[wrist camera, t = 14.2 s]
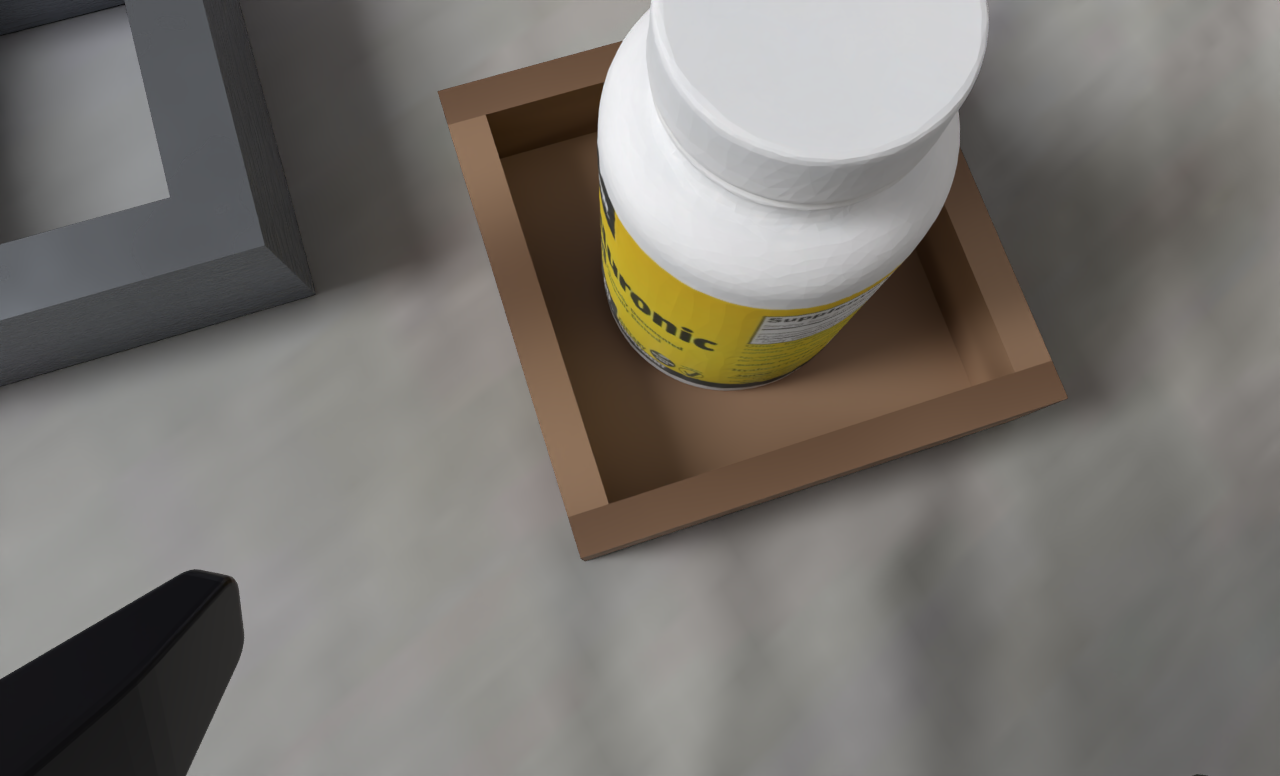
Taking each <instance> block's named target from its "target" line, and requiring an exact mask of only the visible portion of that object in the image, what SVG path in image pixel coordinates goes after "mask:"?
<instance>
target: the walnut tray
mask: <svg viewBox="0 0 1280 776" xmlns="http://www.w3.org/2000/svg"><path fill="white" fill-rule="evenodd" d="M622 42H623V41H620V42H617V43H613V44H609V45H606V46H602V47H598V48H595V49H591V50H587V51H584V52H580V53H576V54H573V55H569V56H565V57H562V58H558V59H554V60H551V61H547V62H543V63H540V64H536V65H532V66H529V67H525V68H521V69H518V70H514V71H510V72H507V73H503V74H499V75H496V76H492V77H488V78H485V79H481V80H477V81H474V82H470V83H466V84H463V85H459V86H455V87H452V88H448V89H444V90H441V91H438V94H439V97H440V101H441V104H442V107H443V110H444V114H445V117H446V120H447V124H448V127H449V130H450V133H451V137H452V140H453V143H454V146H455V150H456V153H457V156H458V159H459V163H460V166H461V169H462V172H463V176H464V179H465V182H466V186H467V189H468V192H469V195H470V199H471V202H472V205H473V208H474V212H475V215H476V218H477V221H478V225H479V228H480V231H481V234H482V238H483V241H484V244H485V247H486V251H487V254H488V257H489V261H490V264H491V267H492V270H493V274H494V277H495V280H496V283H497V287H498V290H499V293H500V296H501V300H502V303H503V306H504V309H505V313H506V316H507V319H508V323H509V326H510V329H511V332H512V336H513V339H514V342H515V345H516V349H517V352H518V355H519V358H520V362H521V365H522V368H523V371H524V375H525V378H526V381H527V385H528V388H529V391H530V394H531V398H532V401H533V404H534V407H535V411H536V414H537V417H538V420H539V424H540V427H541V430H542V433H543V437H544V440H545V443H546V446H547V450H548V453H549V456H550V460H551V463H552V466H553V469H554V473H555V476H556V479H557V482H558V486H559V489H560V492H561V495H562V499H563V502H564V505H565V508H566V512H567V515H568V518H569V522H570V525H571V528H572V531H573V535H574V538H575V541H576V544H577V548H578V551H579V554H580V557H581V559H582V560H584V561H587V560H590V559H593V558H596V557H599V556H602V555H605V554H608V553H611V552H614V551H617V550H620V549H623V548H627V547H630V546H633V545H636V544H639V543H642V542H645V541H648V540H651V539H654V538H657V537H660V536H663V535H666V534H669V533H672V532H675V531H678V530H681V529H684V528H687V527H690V526H693V525H696V524H699V523H702V522H705V521H708V520H712V519H715V518H718V517H721V516H724V515H727V514H730V513H733V512H736V511H739V510H742V509H745V508H748V507H751V506H754V505H757V504H760V503H763V502H766V501H769V500H772V499H775V498H778V497H781V496H784V495H787V494H790V493H794V492H797V491H800V490H803V489H806V488H809V487H812V486H815V485H818V484H821V483H824V482H827V481H830V480H833V479H836V478H839V477H842V476H845V475H848V474H851V473H854V472H857V471H860V470H863V469H866V468H869V467H872V466H876V465H879V464H882V463H885V462H888V461H891V460H894V459H897V458H900V457H903V456H906V455H909V454H912V453H915V452H918V451H921V450H924V449H927V448H930V447H933V446H936V445H939V444H942V443H945V442H948V441H951V440H954V439H957V438H961V437H964V436H967V435H970V434H973V433H976V432H979V431H982V430H985V429H988V428H991V427H994V426H997V425H1000V424H1003V423H1006V422H1009V421H1012V420H1015V419H1017V418H1020V417H1022V416H1025V415H1027V414H1030V413H1032V412H1035V411H1037V410H1040V409H1042V408H1045V407H1047V406H1050V405H1052V404H1055V403H1057V402H1060V401H1063V400H1065V399H1068V397H1067V395H1066V392H1065V390H1064V388H1063V385H1062V383H1061V381H1060V378H1059V376H1058V374H1057V371H1056V369H1055V367H1054V364H1053V362H1052V360H1051V357H1050V355H1049V353H1048V350H1047V348H1046V346H1045V343H1044V341H1043V339H1042V337H1041V334H1040V332H1039V330H1038V327H1037V325H1036V323H1035V320H1034V318H1033V316H1032V313H1031V311H1030V309H1029V306H1028V304H1027V302H1026V299H1025V297H1024V295H1023V292H1022V290H1021V288H1020V285H1019V283H1018V281H1017V278H1016V276H1015V274H1014V271H1013V269H1012V267H1011V264H1010V262H1009V260H1008V258H1007V255H1006V253H1005V251H1004V248H1003V246H1002V244H1001V241H1000V239H999V237H998V234H997V232H996V230H995V227H994V225H993V223H992V220H991V218H990V216H989V213H988V211H987V209H986V206H985V204H984V202H983V199H982V197H981V195H980V192H979V190H978V188H977V185H976V183H975V181H974V179H973V176H972V174H971V172H970V169H969V167H968V165H967V162H966V160H965V158H964V155H963V153H962V151H961V148H960V147H959V154H958V162H957V167H956V171H955V175H954V179H953V182H952V185H951V188H950V191H949V194H948V196H947V198H946V201H945V203H944V205H943V207H942V209H941V211H940V213H939V215H938V217H937V218H936V220H935V221H934V223H933V224H932V226H931V227H930V229H929V230H928V232H927V233H926V235H925V236H924V237H923V239H922V240H921V241H920V243H919V244H918V245H917V246H916V248H915V249H914V250H913V252H912V253H911V254H910V255H909V256H908V257H907V258H906V259H905V261H904V262H903V263H902V264H901V265H900V266H899V267H898V268H897V269H896V270H895V271H894V272H893V273H892V274H891V276H890V277H889V278H888V279H887V280H886V281H885V282H884V283H883V284H882V285H881V286H880V288H879V289H878V290H877V291H876V292H875V293H874V294H873V295H872V296H871V297H870V298H869V299H868V300H867V302H866V303H865V304H864V305H863V306H862V307H861V308H860V309H859V310H858V311H857V312H856V313H855V314H854V315H853V317H852V318H851V319H850V320H849V321H848V322H847V323H846V324H845V325H844V326H843V327H842V328H841V330H840V331H839V332H838V333H837V334H836V335H835V336H834V337H833V338H832V339H831V341H830V342H829V343H828V344H827V345H826V346H825V347H824V348H823V349H822V350H821V351H820V352H819V353H818V354H817V355H816V356H815V357H813V358H812V359H811V360H810V361H808V362H807V363H806V364H805V365H803V366H802V367H800V368H799V369H798V370H796V371H794V372H793V373H791V374H789V375H788V376H786V377H784V378H782V379H780V380H778V381H775V382H772V383H769V384H766V385H764V386H760V387H756V388H750V389H744V390H732V391H722V390H711V389H704V388H700V387H695V386H692V385H689V384H686V383H683V382H680V381H678V380H676V379H674V378H672V377H670V376H668V375H666V374H664V373H663V372H661V371H659V370H658V369H656V368H655V367H654V366H652V365H651V364H650V363H648V362H647V361H646V360H645V359H644V358H643V357H641V356H640V355H639V354H638V352H637V351H636V350H635V349H634V348H633V347H632V346H631V345H630V344H629V342H628V341H627V339H626V338H625V337H624V335H623V334H622V332H621V330H620V329H619V327H618V325H617V323H616V321H615V319H614V317H613V315H612V312H611V309H610V306H609V303H608V300H607V296H606V291H605V286H604V278H603V273H602V247H601V222H600V199H599V171H598V157H597V135H598V116H599V106H600V100H601V95H602V90H603V86H604V82H605V79H606V76H607V73H608V70H609V68H610V66H611V63H612V61H613V59H614V57H615V55H616V53H617V51H618V49H619V47H620V45H621V43H622Z"/></svg>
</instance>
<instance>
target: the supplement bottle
mask: <svg viewBox="0 0 1280 776" xmlns="http://www.w3.org/2000/svg"><path fill="white" fill-rule="evenodd" d="M988 31H989V11H988V4H987V0H651V7H650V9H649V10H648V11H647V12H646V13H645V14H644V15H643V16H642V17H641V18H640V19H639V20H638V22H637V23H636V24H635V25H634V26H633V27H632V29H631V30H630V31H629V33H628V34H627V36H626V37H625V38H624V40H623V42H622V43H621V45H620V47H619V49H618V51H617V53H616V55H615V57H614V59H613V61H612V63H611V66H610V68H609V70H608V73H607V76H606V79H605V82H604V86H603V90H602V95H601V100H600V106H599V116H598V135H597V157H598V171H599V199H600V222H601V247H602V273H603V278H604V286H605V291H606V296H607V300H608V303H609V306H610V309H611V312H612V315H613V317H614V319H615V321H616V323H617V325H618V327H619V329H620V330H621V332H622V334H623V335H624V337H625V338H626V339H627V341H628V342H629V344H630V345H631V346H632V347H633V348H634V349H635V350H636V351H637V352H638V354H639V355H640V356H641V357H643V358H644V359H645V360H646V361H647V362H648V363H650V364H651V365H652V366H654V367H655V368H656V369H658V370H659V371H661V372H663V373H664V374H666V375H668V376H670V377H672V378H674V379H676V380H678V381H680V382H683V383H686V384H689V385H692V386H695V387H700V388H704V389H711V390H722V391H732V390H744V389H750V388H756V387H760V386H764V385H766V384H769V383H772V382H775V381H778V380H780V379H782V378H784V377H786V376H788V375H789V374H791V373H793V372H794V371H796V370H798V369H799V368H800V367H802V366H803V365H805V364H806V363H807V362H808V361H810V360H811V359H812V358H813V357H815V356H816V355H817V354H818V353H819V352H820V351H821V350H822V349H823V348H824V347H825V346H826V345H827V344H828V343H829V342H830V341H831V339H832V338H833V337H834V336H835V335H836V334H837V333H838V332H839V331H840V330H841V328H842V327H843V326H844V325H845V324H846V323H847V322H848V321H849V320H850V319H851V318H852V317H853V315H854V314H855V313H856V312H857V311H858V310H859V309H860V308H861V307H862V306H863V305H864V304H865V303H866V302H867V300H868V299H869V298H870V297H871V296H872V295H873V294H874V293H875V292H876V291H877V290H878V289H879V288H880V286H881V285H882V284H883V283H884V282H885V281H886V280H887V279H888V278H889V277H890V276H891V274H892V273H893V272H894V271H895V270H896V269H897V268H898V267H899V266H900V265H901V264H902V263H903V262H904V261H905V259H906V258H907V257H908V256H909V255H910V254H911V253H912V252H913V250H914V249H915V248H916V246H917V245H918V244H919V243H920V241H921V240H922V239H923V237H924V236H925V235H926V233H927V232H928V230H929V229H930V227H931V226H932V224H933V223H934V221H935V220H936V218H937V217H938V215H939V213H940V211H941V209H942V207H943V205H944V203H945V201H946V198H947V196H948V194H949V191H950V188H951V185H952V182H953V179H954V175H955V171H956V167H957V162H958V154H959V147H960V122H959V111H958V110H959V108H960V107H961V106H962V104H963V103H964V101H965V99H966V98H967V96H968V95H969V93H970V91H971V90H972V87H973V85H974V83H975V81H976V79H977V77H978V75H979V72H980V69H981V65H982V62H983V58H984V55H985V51H986V47H987V39H988Z"/></svg>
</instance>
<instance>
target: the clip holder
mask: <svg viewBox="0 0 1280 776" xmlns="http://www.w3.org/2000/svg"><path fill="white" fill-rule="evenodd" d="M121 4H125V5H126V10H127V14H128V18H129V22H130V27H131V31H132V35H133V40H134V44H135V48H136V52H137V57H138V61H139V65H140V69H141V74H142V78H143V82H144V87H145V91H146V95H147V99H148V104H149V108H150V112H151V117H152V121H153V125H154V129H155V134H156V138H157V142H158V146H159V151H160V155H161V159H162V164H163V168H164V172H165V176H166V181H167V185H168V189H169V193H170V198H166V199H163V200H159V201H156V202H152V203H148V204H145V205H141V206H137V207H134V208H130V209H127V210H123V211H119V212H116V213H112V214H108V215H105V216H101V217H98V218H94V219H90V220H87V221H83V222H79V223H76V224H72V225H69V226H65V227H61V228H58V229H54V230H50V231H47V232H43V233H40V234H36V235H32V236H29V237H25V238H21V239H18V240H14V241H11V242H7V243H3V244H0V386H3V385H6V384H9V383H13V382H16V381H20V380H23V379H27V378H30V377H33V376H37V375H40V374H44V373H47V372H51V371H54V370H58V369H61V368H64V367H68V366H71V365H75V364H78V363H82V362H85V361H89V360H92V359H95V358H99V357H102V356H106V355H109V354H113V353H116V352H119V351H123V350H126V349H130V348H133V347H137V346H140V345H144V344H147V343H150V342H154V341H157V340H161V339H164V338H168V337H171V336H174V335H178V334H181V333H185V332H188V331H192V330H195V329H199V328H202V327H205V326H209V325H212V324H216V323H219V322H223V321H226V320H229V319H233V318H236V317H240V316H243V315H247V314H250V313H254V312H257V311H260V310H264V309H267V308H271V307H274V306H278V305H281V304H285V303H288V302H291V301H295V300H298V299H302V298H305V297H309V296H312V295H315V290H314V286H313V282H312V278H311V275H310V271H309V267H308V263H307V259H306V256H305V252H304V248H303V244H302V240H301V237H300V233H299V229H298V225H297V221H296V218H295V214H294V210H293V206H292V202H291V199H290V195H289V191H288V187H287V183H286V179H285V176H284V172H283V168H282V164H281V160H280V157H279V153H278V149H277V145H276V141H275V138H274V134H273V130H272V126H271V122H270V119H269V115H268V111H267V107H266V103H265V100H264V96H263V92H262V88H261V84H260V81H259V77H258V73H257V69H256V65H255V62H254V58H253V54H252V50H251V46H250V43H249V39H248V35H247V31H246V27H245V24H244V20H243V16H242V12H241V8H240V5H239V1H238V0H0V35H3V34H7V33H11V32H15V31H19V30H22V29H26V28H30V27H34V26H38V25H42V24H46V23H50V22H54V21H58V20H62V19H66V18H70V17H74V16H78V15H82V14H85V13H89V12H93V11H97V10H101V9H105V8H109V7H113V6H117V5H121Z"/></svg>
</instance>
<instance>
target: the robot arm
mask: <svg viewBox="0 0 1280 776" xmlns="http://www.w3.org/2000/svg"><path fill="white" fill-rule="evenodd" d="M243 644H244V629H243V621H242V612H241V604H240V596H239V589H238V584H237V582H236V581H235V580H234V578H233V577H230V576H228V575H223V574H219V573H214V572H209V571H204V570H197V569H194V570H189V571H186V572H183V573H181V574H179V575H178V576H176V577H174V578H173V579H171V580H169V581H168V582H166V583H164V584H162V585H161V586H159V587H157V588H156V589H154V590H152V591H150V592H149V593H147V594H145V595H144V596H142V597H140V598H138V599H137V600H135V601H133V602H132V603H130V604H128V605H127V606H125V607H123V608H121V609H120V610H118V611H116V612H115V613H113V614H111V615H109V616H108V617H106V618H104V619H103V620H101V621H99V622H97V623H96V624H94V625H92V626H91V627H89V628H87V629H85V630H84V631H82V632H80V633H79V634H77V635H75V636H74V637H72V638H70V639H68V640H67V641H65V642H63V643H62V644H60V645H58V646H56V647H55V648H53V649H51V650H50V651H48V652H46V653H44V654H43V655H41V656H39V657H38V658H36V659H34V660H33V661H31V662H29V663H27V664H26V665H24V666H22V667H21V668H19V669H17V670H15V671H14V672H12V673H10V674H9V675H7V676H5V677H3V678H2V679H0V776H186V774H187V772H188V770H189V768H190V766H191V764H192V761H193V759H194V757H195V755H196V753H197V750H198V748H199V746H200V744H201V742H202V740H203V737H204V735H205V733H206V731H207V729H208V727H209V724H210V722H211V720H212V718H213V716H214V714H215V711H216V709H217V707H218V705H219V703H220V700H221V698H222V696H223V694H224V692H225V690H226V687H227V685H228V683H229V681H230V679H231V677H232V674H233V672H234V670H235V668H236V666H237V663H238V661H239V659H240V656H241V653H242V649H243ZM1193 776H1206V775H1198V774H1196V775H1193Z"/></svg>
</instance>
